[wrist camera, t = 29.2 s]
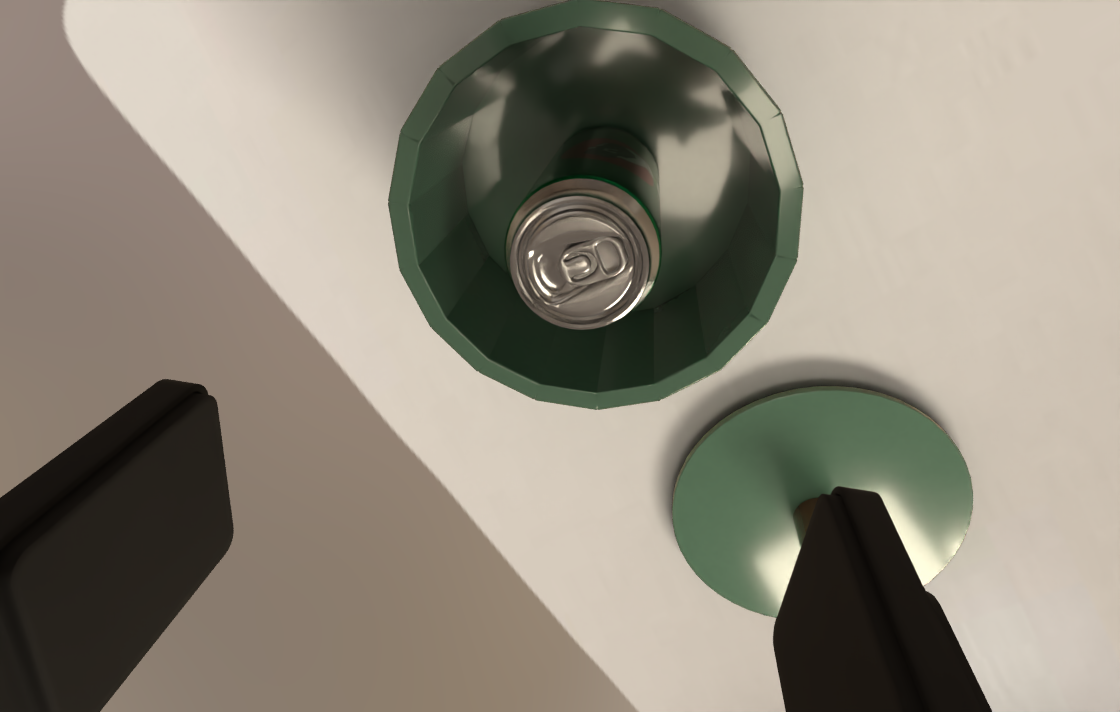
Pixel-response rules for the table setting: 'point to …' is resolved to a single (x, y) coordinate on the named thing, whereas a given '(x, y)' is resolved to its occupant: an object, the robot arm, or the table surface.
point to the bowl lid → (813, 486)
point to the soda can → (588, 232)
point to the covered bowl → (527, 148)
